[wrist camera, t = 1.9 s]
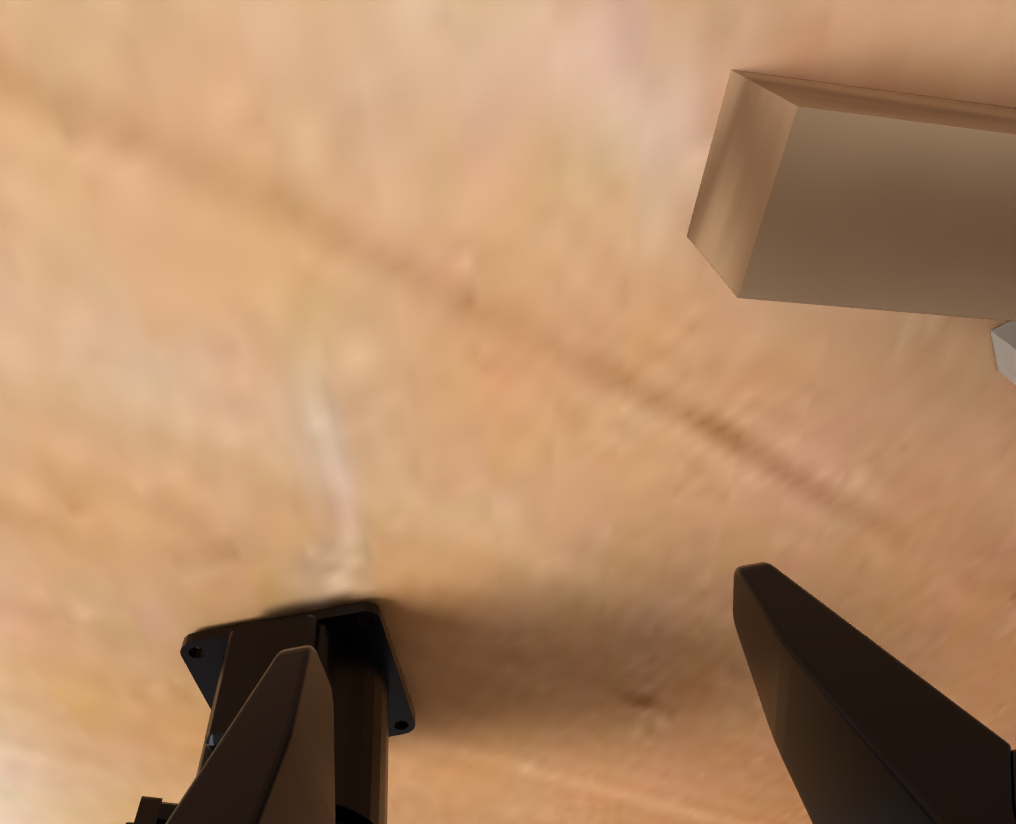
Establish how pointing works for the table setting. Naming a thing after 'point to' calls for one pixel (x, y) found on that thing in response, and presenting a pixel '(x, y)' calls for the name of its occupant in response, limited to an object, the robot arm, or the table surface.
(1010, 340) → the frame
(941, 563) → the table surface
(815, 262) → the tan rectangular beam
